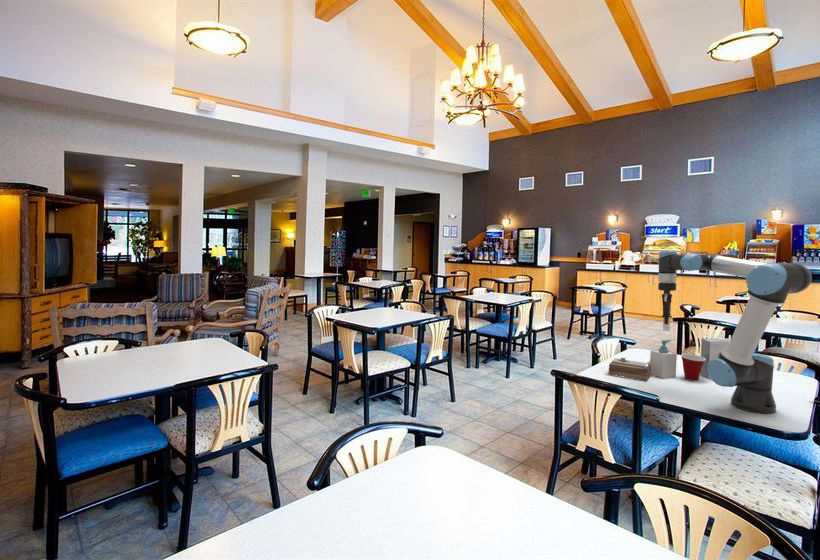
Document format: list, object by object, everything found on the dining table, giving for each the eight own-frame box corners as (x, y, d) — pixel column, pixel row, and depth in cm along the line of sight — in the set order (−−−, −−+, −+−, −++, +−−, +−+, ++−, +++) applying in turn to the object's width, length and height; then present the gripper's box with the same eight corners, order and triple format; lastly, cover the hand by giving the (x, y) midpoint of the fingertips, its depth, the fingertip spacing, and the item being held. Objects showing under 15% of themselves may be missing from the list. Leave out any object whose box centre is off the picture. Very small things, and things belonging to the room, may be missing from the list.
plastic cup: (700, 383, 216) (701, 360, 215) (676, 378, 225) (677, 355, 224) (707, 379, 223) (709, 356, 222) (684, 374, 231) (685, 352, 230)
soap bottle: (676, 377, 227) (677, 341, 226) (662, 378, 225) (664, 342, 223) (662, 372, 235) (664, 337, 234) (649, 373, 233) (650, 338, 231)
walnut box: (647, 381, 220) (647, 364, 219) (608, 374, 231) (609, 358, 230) (651, 375, 230) (651, 359, 229) (613, 369, 241) (614, 354, 240)
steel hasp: (647, 368, 222) (647, 365, 222) (612, 362, 232) (612, 360, 232) (649, 365, 227) (649, 363, 227) (615, 359, 237) (615, 357, 237)
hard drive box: (730, 375, 230) (732, 338, 228) (739, 380, 222) (742, 341, 221) (699, 374, 231) (701, 337, 230) (707, 379, 224) (709, 341, 222)
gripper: (674, 283, 203) (673, 333, 204) (677, 281, 214) (676, 329, 215) (656, 282, 208) (655, 331, 209) (660, 281, 218) (659, 328, 219)
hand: (666, 330), depth 212 cm, fingers closed
